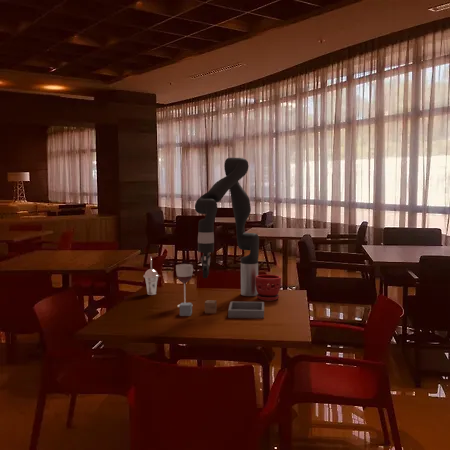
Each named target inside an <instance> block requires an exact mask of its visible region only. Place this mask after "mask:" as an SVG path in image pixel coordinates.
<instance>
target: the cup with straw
mask: <svg viewBox="0 0 450 450" xmlns="http://www.w3.org/2000/svg"><path fill="white" fill-rule="evenodd" d="M149 258H150V268H149V269H147V270H146V271H145V273H144V274H143V278H144V279H145V284H146V293H147V295H149V296H155V295H157V285H158V280H159V277H160V274H158V271H157V270H156V269H154V268H153V257H152V256H150V257H149Z"/></svg>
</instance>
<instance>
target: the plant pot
mask: <svg viewBox="0 0 450 450" xmlns="http://www.w3.org/2000/svg"><path fill="white" fill-rule="evenodd" d="M255 281H256V290H257V292H258V294H257V295H256V298H257V299H258V300H261V301H265V302H268V301H269V302H270V301H272V302H273V301H276V300H278V299H279V298H280V294H279V293H280V290H281V284H282V277H281V276H280V275H275V274H258V275H257V276H256V280H255Z"/></svg>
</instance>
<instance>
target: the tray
mask: <svg viewBox="0 0 450 450" xmlns="http://www.w3.org/2000/svg"><path fill="white" fill-rule="evenodd" d="M227 313H228V314H227V318H228V319H264V318H265V302H264V301H230V302H229V305H228V310H227Z"/></svg>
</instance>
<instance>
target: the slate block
mask: <svg viewBox="0 0 450 450" xmlns="http://www.w3.org/2000/svg"><path fill="white" fill-rule="evenodd" d="M192 305H193V302H186V303H184V302H180V307H179V316H180V317H191V316H192V314H193V306H192Z"/></svg>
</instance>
